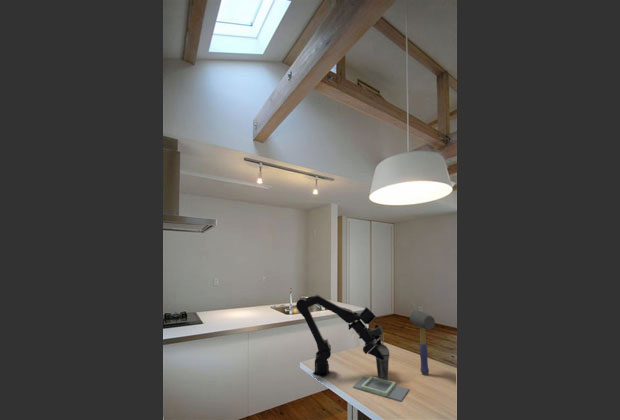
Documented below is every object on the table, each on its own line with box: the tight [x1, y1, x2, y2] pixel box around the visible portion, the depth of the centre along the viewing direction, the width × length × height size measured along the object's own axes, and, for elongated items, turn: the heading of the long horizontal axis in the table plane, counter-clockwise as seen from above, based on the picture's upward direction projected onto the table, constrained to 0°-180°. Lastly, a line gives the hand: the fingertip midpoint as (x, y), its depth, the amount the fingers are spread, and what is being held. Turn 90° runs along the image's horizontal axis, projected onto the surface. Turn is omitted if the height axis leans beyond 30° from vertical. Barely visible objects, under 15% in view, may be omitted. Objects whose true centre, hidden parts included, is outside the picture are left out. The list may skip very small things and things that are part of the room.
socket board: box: [352, 375, 410, 403], centre depth 130 cm, size 22×12×2 cm, turn 56°
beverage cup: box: [375, 334, 390, 380], centre depth 142 cm, size 7×7×20 cm
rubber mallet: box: [409, 310, 436, 376], centre depth 147 cm, size 12×8×30 cm, turn 16°
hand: (385, 356), depth 141 cm, fingers closed on beverage cup, 7 cm apart
